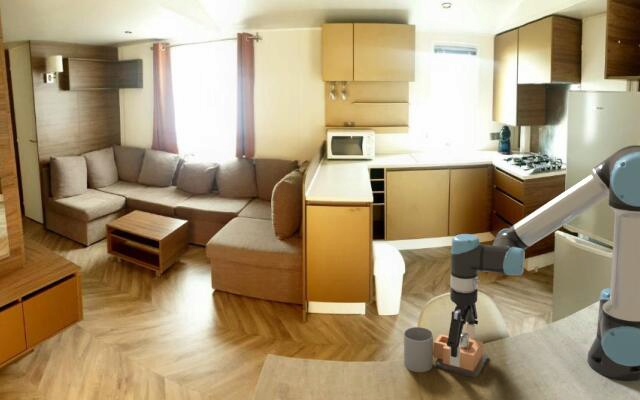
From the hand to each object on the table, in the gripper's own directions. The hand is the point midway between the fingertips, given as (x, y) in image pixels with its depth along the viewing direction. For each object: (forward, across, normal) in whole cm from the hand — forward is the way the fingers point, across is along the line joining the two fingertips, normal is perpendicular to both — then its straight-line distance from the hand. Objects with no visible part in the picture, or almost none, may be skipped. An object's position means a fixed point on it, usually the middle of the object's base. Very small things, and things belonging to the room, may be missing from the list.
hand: (462, 354), depth 159 cm
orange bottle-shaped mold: (+2, 0, +2) cm, 2 cm away
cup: (+3, -7, +11) cm, 13 cm away
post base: (+3, 0, 0) cm, 3 cm away
